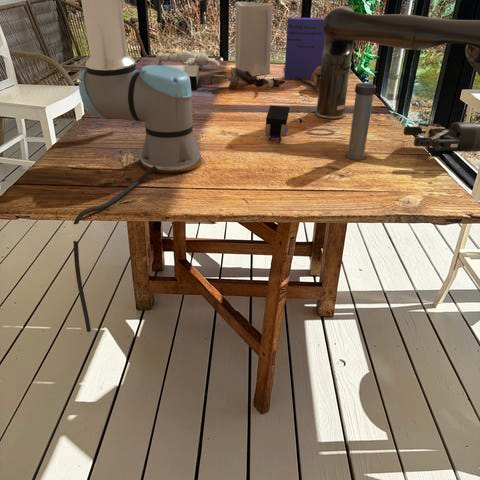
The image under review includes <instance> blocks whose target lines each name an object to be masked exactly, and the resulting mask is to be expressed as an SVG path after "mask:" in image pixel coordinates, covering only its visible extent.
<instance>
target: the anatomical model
mask: <svg viewBox="0 0 480 480" xmlns="http://www.w3.org/2000/svg"><path fill="white" fill-rule="evenodd" d="M320 70H321V66H319V67H317V68H316V70H315V71H314V72H313V73H312V75H311V80H310V82H311V84H312V85H313V87H315V88H316V89H315V92H316V93H318V91H319V81H320ZM313 87H312V88H313Z"/></svg>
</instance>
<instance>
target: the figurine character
mask: <svg viewBox="0 0 480 480" xmlns="http://www.w3.org/2000/svg"><path fill="white" fill-rule="evenodd" d="M289 113H290V107H289V106H282V105H281V106H280V105H269V109H268V111H267V115H266V118H265V129H264V137H269V138H268V142H269V143H272V139H275V140H276V139H278V143H281V142H282V139H283V138H285V137H286V134H287V133H288V132H289V129H288V126H287V125H288V119H289Z"/></svg>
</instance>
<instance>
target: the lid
mask: <svg viewBox="0 0 480 480" xmlns="http://www.w3.org/2000/svg"><path fill="white" fill-rule="evenodd" d="M376 91H377V85H375V84H373V83H366V82H360V83H359V82H358V83H356V84H355V87H354V92H355V94H356V93H358V94H363V95H372V94H374V95H375V94H376Z"/></svg>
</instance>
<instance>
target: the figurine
mask: <svg viewBox="0 0 480 480" xmlns="http://www.w3.org/2000/svg"><path fill="white" fill-rule="evenodd" d="M230 69H231V72H230V73H231V74H230V76H229V75H225V74H213V73H211V74H210V78H209V85H212V84H213V83H214V79H215V78H216V79H223V80H227V81H229V84H228V88H229V89H241V88H247V87H249V86H255V87H256V88H262V87H268V88H271V89H273V88H280V86H281V85H284V84H286V83H287V79H275V78H274V77H272V78H265V77H262V78H261V77H257V76H252V75H251V73H250V72H249V71H245V72H244V71H242V70H240V69H237V68H235V67H232V66H231V67H230Z"/></svg>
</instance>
